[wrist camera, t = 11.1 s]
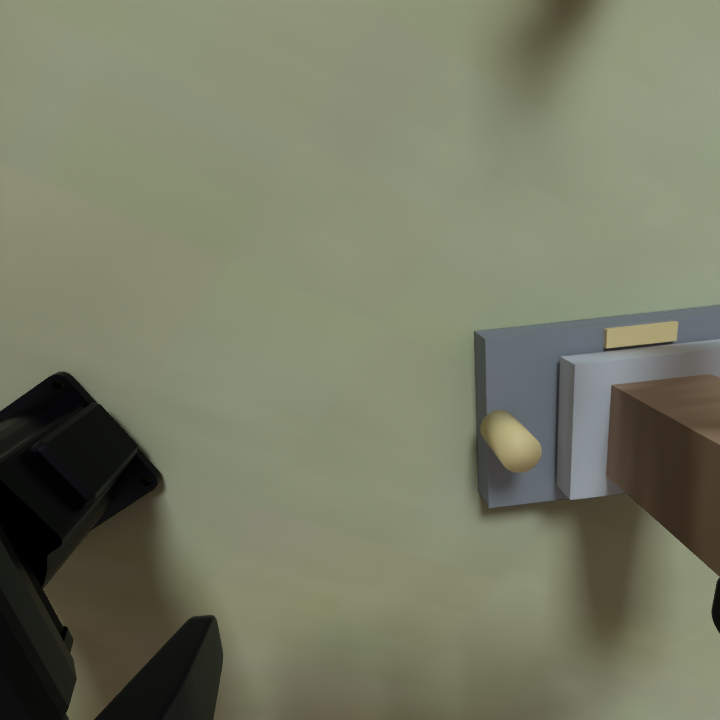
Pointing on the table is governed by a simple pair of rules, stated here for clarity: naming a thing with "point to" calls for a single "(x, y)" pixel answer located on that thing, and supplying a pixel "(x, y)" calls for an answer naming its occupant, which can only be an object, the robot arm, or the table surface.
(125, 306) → the table surface
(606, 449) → the brown wooden block
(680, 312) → the tensioner track
